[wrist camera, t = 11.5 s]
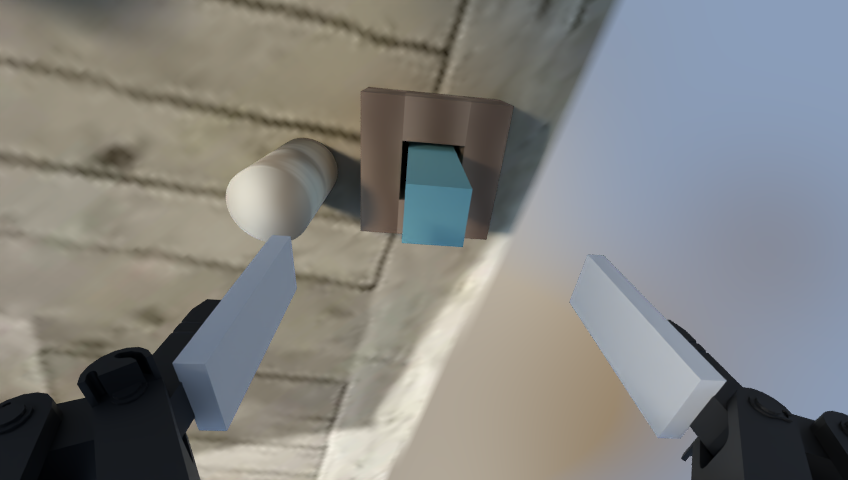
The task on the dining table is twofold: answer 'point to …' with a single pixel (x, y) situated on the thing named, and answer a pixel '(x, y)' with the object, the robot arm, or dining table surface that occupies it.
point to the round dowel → (282, 189)
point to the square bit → (435, 196)
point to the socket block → (430, 123)
